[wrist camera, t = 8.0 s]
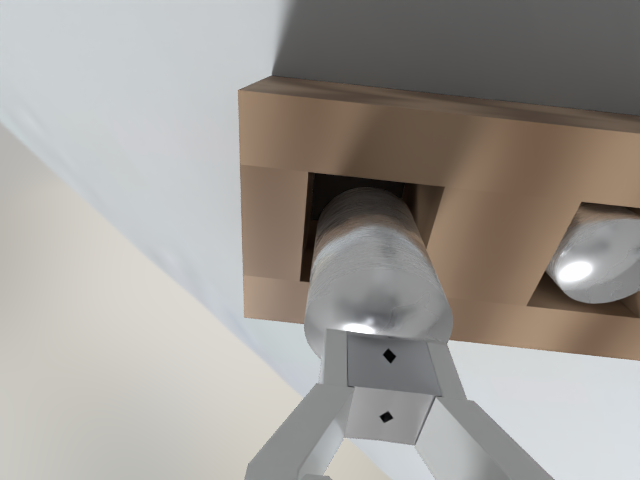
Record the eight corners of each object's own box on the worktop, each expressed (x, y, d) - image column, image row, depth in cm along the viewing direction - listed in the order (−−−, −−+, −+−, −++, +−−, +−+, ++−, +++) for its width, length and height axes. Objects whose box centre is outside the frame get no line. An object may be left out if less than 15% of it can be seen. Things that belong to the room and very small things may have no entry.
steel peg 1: (312, 266, 15) (299, 370, 10) (321, 181, 13) (310, 260, 8) (402, 276, 15) (430, 384, 10) (424, 192, 13) (473, 278, 8)
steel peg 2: (492, 235, 19) (541, 298, 15) (519, 168, 17) (588, 215, 12) (562, 243, 19) (634, 308, 14) (597, 176, 17) (694, 226, 12)
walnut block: (268, 250, 21) (244, 317, 16) (271, 75, 16) (237, 89, 11) (583, 285, 21) (661, 363, 16) (684, 120, 16) (847, 156, 11)
